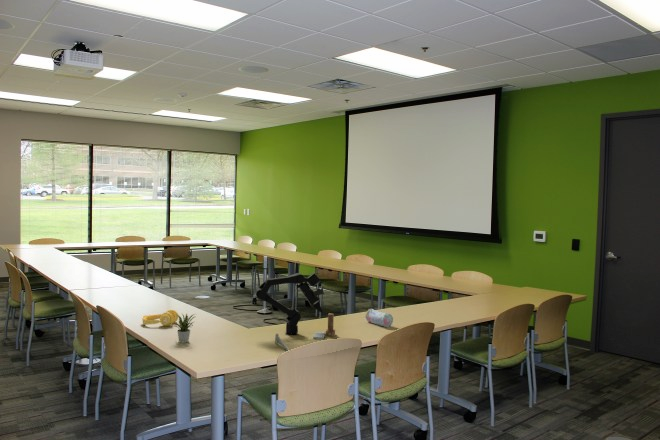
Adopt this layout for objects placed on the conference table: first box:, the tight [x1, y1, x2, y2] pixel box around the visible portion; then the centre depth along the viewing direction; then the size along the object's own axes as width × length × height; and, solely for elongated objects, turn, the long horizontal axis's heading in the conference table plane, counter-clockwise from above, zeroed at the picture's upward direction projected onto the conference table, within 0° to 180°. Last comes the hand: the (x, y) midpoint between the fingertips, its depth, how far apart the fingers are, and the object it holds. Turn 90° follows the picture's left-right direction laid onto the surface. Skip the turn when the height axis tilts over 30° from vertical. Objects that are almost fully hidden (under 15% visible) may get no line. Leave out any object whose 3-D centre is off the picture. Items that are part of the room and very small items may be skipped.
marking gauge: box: [325, 312, 336, 337], centre depth 313 cm, size 5×6×13 cm
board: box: [312, 331, 326, 340], centre depth 310 cm, size 6×13×1 cm, turn 175°
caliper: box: [274, 333, 291, 352], centre depth 283 cm, size 20×1×6 cm, turn 28°
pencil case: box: [365, 308, 394, 328], centre depth 345 cm, size 21×9×10 cm, turn 32°
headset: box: [141, 309, 179, 327], centre depth 333 cm, size 18×21×9 cm
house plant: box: [173, 313, 196, 343], centre depth 293 cm, size 14×14×16 cm
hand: (321, 312), depth 316 cm, fingers open, 9 cm apart
